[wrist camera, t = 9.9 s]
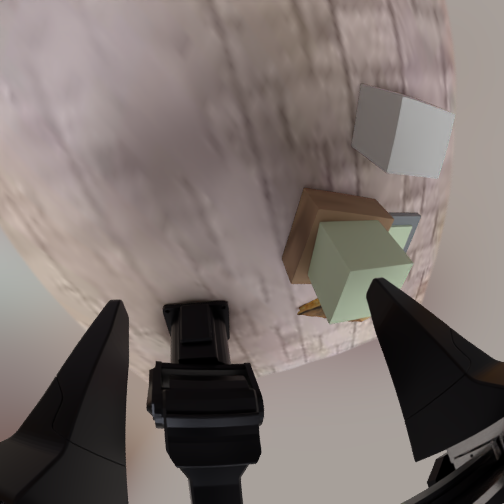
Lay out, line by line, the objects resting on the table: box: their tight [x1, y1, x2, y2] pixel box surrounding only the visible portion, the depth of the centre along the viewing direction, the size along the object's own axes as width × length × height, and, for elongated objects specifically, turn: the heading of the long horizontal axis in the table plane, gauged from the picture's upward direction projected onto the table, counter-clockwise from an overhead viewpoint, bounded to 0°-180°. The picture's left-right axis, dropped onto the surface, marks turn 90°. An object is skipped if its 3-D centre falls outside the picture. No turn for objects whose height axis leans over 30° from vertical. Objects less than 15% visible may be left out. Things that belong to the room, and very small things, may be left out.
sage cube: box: [308, 220, 413, 324], centre depth 19 cm, size 5×5×5 cm
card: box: [389, 213, 421, 253], centre depth 25 cm, size 5×5×1 cm
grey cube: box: [351, 84, 455, 179], centre depth 16 cm, size 5×5×5 cm
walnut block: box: [282, 188, 394, 284], centre depth 22 cm, size 7×7×4 cm
